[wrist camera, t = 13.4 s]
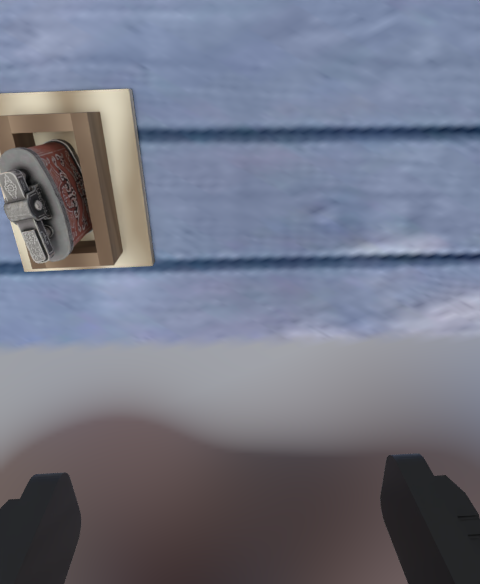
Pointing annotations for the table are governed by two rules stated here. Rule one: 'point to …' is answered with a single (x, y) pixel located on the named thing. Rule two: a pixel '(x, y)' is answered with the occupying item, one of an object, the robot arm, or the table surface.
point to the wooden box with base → (89, 170)
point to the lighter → (46, 198)
